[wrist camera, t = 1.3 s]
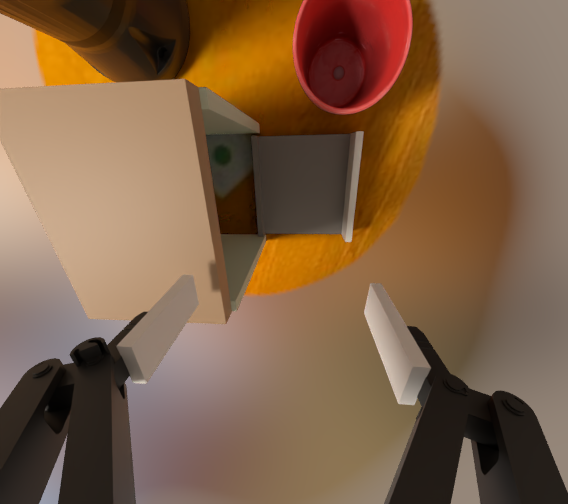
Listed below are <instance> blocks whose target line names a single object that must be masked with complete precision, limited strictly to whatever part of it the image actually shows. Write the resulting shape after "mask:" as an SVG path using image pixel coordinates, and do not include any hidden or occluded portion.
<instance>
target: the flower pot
mask: <svg viewBox="0 0 568 504" xmlns="http://www.w3.org/2000/svg"><path fill="white" fill-rule="evenodd" d="M412 29H413V16H412V8H411V3H410V0H303V2H302V5H301V7H300V10H299V13H298V16H297V19H296V23H295V28H294V35H293V59H294V65H295V70H296V73H297V77H298V79H299V82H300V84H301V86H302V88H303V90H304V92H305V93H306V95H307V96H308V98H309V99H310V100H311V101H312V102H313V103H314V104H315V105H316V106H317V107H318V108H320V109H322V110H324V111H326V112H329V113H333V114H340V115H346V114H353V113H357V112H360V111H363V110H365V109H367V108H369V107H371V106H372V105H374V104H375V103H377V102H378V101H379V100H380V99H381V98H382V97H383V96H384V95H385V94H386V93H387V92H388V91H389V90H390V89H391V87H392V86H393V85H394V83H395V82H396V80H397V78H398V76H399V75H400V73H401V71H402V69H403V66H404V64H405V61H406V59H407V56H408V52H409V48H410V44H411V38H412Z"/></svg>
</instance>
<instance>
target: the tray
mask: <svg viewBox="0 0 568 504" xmlns="http://www.w3.org/2000/svg"><path fill="white" fill-rule="evenodd" d="M363 135H364V131H356V132H354V133H351V134H326V135H293V136H260V137H259V136H251V143H252V157H253V170H254V183H255V197H256V210H257V224H258V237H263V236H264V234H342V236H343V238H344V240H345V242H351V241H352V232H353V223H354V214H355V205H356V197H357V188H358V179H359V170H360V161H361V152H362V144H363Z"/></svg>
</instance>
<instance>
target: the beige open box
mask: <svg viewBox="0 0 568 504" xmlns="http://www.w3.org/2000/svg"><path fill="white" fill-rule="evenodd" d="M249 133H260V126H259V123H258V122H256V121H255V120H253V119H252V118H250V117H249V116H247V115H246V114H245V113H243V112H242V111H240V110H239V109H237V108H236V107H234V106H233V105H231V104H230V103H228V102H227V101H226V100H224V99H223V98H221V97H220V96H218V95H217V94H215V93H214V92H212V91H211V90H209V89H208V88H206V87H199V88H198V87H197V86H195V85H194V84H192V83H191V82H189V81H187V80H186V79H173V80H154V81H135V82H117V83H98V84H79V85H60V86H42V87H23V88H4V89H0V141H1V143H2V145H3V147H4V149H5V151H6V153H7V155H8V157H9V159H10V161H11V163H12V165H13V167H14V169H15V171H16V173H17V175H18V177H19V179H20V181H21V183H22V185H23V187H24V190H25V192H26V194H27V196H28V198H29V200H30V202H31V204H32V206H33V208H34V210H35V212H36V214H37V216H38V218H39V220H40V222H41V223H42V226H43V228H44V230H45V232H46V234H47V236H48V238H49V240H50V242H51V244H52V246H53V248H54V250H55V252H56V254H57V256H58V258H59V260H60V262H61V264H62V266H63V268H64V270H65V272H66V274H67V276H68V278H69V280H70V282H71V284H72V286H73V288H74V290H75V292H76V294H77V296H78V298H79V300H80V302H81V304H82V306H83V308H84V310H85V312H86V314H87V316H88V318H89V319H109V320H133V319H134V318H135V317H136V316H137V315H139V314H141V313H142V312H144V311H145V312H149V311H150V309H151V308H152V307H153V306H154V305H155V304H156V303H157V302H158V301H159V300H160V299H161V298H162V297H163V296H164V295H165V293H166V292H167V291H168V290H169V289H170V288H171V287H172V286H173V285H174V284H175V283H176V282H177V281H178V280H179V278H180V277H181V276H182V275H183V274H186V275H193V277H194V282H195V287H196V292H197V297H198V302H199V305H198V306H197V308H196V309H195V311H194V312H193V314H192V315H191V317H190V318H189V320H188V321H187V323H211V324H226V323H227V321H228V319H229V317H230V314H231V312H232V311H237V310H238V308H239V305H240V303H241V300H242V298H243V296H244V293H245V291H246V288H247V286H248V284H249V281H250V279H251V276H252V274H253V272H254V269H255V267H256V264H257V262H258V259H259V257H260V255H261V252H262V250H263V247H264V245H265V243H266V234H264V236H263V237H258V234H220V228H219V221H218V215H217V208H216V201H215V195H214V188H213V181H212V174H211V168H210V161H209V154H208V148H207V141H206V135H217V134H249Z"/></svg>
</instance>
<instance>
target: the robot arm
mask: <svg viewBox="0 0 568 504" xmlns="http://www.w3.org/2000/svg"><path fill="white" fill-rule="evenodd" d="M0 13H1V14H3V15H5V16H8V17H10V18H12V19H14V20H16V21H19V22H21V23H23V24H25V25H27V26H30V27H32V28H34V29H36V30H39V31H41V32H43V33H45V34H47V35H50V36H52V37H54V38H56V39H58V40H60V41H63V42H65V43H66V44H67V45H68V46H69V47H71V48H72V49H73V50H74V51H75V52H77V53H78V54H79V55H80V56H81V57H83V58H84V59H85V60H86V61H87V62H88V63H89V64H90V65H91V66H92V67H93V68H95V69H96V70H97V71H98V72H99V73H101V74H102V75H104V76H105V77H107V78H109V79H110V80H112V81H114V82H116V83H117V82H135V81H154V80H172V79H173V78H174V77H175V76H176V75H177V73H178V72H179V71H180V69H181V67H182V65H183V63H184V60H185V58H186V54H187V50H188V45H189V37H190V23H189V13H188V7H187V3H186V0H0ZM198 305H199V302H198V297H197V292H196V287H195V282H194V277H193V275H186V274H183V275H182V276H181V277H180V278H179V280H178V281H177V282H176V283H175V284H174V285H173V286H172V287H171V288H170V289H169V290H168V291H167V292H166V293H165V295H164V296H163V297H162V298H161V299H160V300H159V301H158V302H157V303H156V304H155V305H154V306H153V307H152V308H151V309H150V311H149V312H145V311H144V312H142V313H141V314H139V315H137V316H136V317H135V318H134V319H133V320H132V321H131V322H130V323H129V325H127V326H126V327H125V328H124V330H122V331H121V332H120V333H119V334H118V335H117V336H116V337H115V338H114V339H113V340H112V341H111V342H110V343H109V344H108V345H107V344H106V342H105V340H104V339H103V338H100V337H99V338H92V339H88V340H86V341H84V342H82V343H80V344H79V345H78V346H76V347H75V348H74V349H73V350H72V351H71V353H70V356H71V358H72V360H73V361H74V363H70V364H65V365H63V364H62V362H61V361H60V359H56V358H55V359H49V360H46V361H43V362H41V363H39V364H37V365H35V366H34V367H32V368H31V369H29V370H28V371H27V372H26V373H25V374H24V375H23V377H22V378H21V380H20V381H19V382H18V384H17V385H16V387H15V388H14V390H13V391H12V392H11V394H10V395H9V397H8V398H7V400H6V401H5V402H4V404H3V405H2V407H1V408H0V504H39V502H40V500H41V497H42V495H43V492H44V490H45V488H46V485H47V483H48V480H49V478H50V475H51V473H52V470H53V468H54V465H55V463H56V461H57V458H58V456H59V453H60V450H61V448H62V446H63V443H64V441H65V438H66V436H67V442H66V450H65V457H64V465H63V471H62V479H61V487H60V494H59V501H58V504H136V500H135V488H134V476H133V462H132V451H131V437H130V425H129V413H128V400H127V388H126V384H125V381H126V380H127V378H128V377H129V376H130V377H131V379H132V382H133V383H143V384H146V383H147V382H148V381H149V379H150V378H151V376H152V375H153V373H154V372H155V370H156V369H157V367H158V366H159V364H160V363H161V361H162V359H163V358H164V356H165V355H166V353H167V352H168V350H169V349H170V347H171V346H172V344H173V343H174V341H175V340H176V338H177V337H178V335H179V333H180V332H181V331H182V329H183V327H184V326H185V324H186V323H187V321H188V320H189V318H190V317H191V315H192V314H193V312H194V311H195V309H196V308H197V306H198ZM364 314H365V316H366V319H367V322H368V324H369V327H370V330H371V333H372V335H373V338H374V340H375V343H376V346H377V348H378V351H379V353H380V356H381V359H382V362H383V364H384V367H385V369H386V372H387V374H388V377H389V380H390V382H391V385H392V388H393V391H394V393H395V396H396V398H397V401H398V403H399V404H409V405H415V402H416V400H417V398H418V399H419V401H420V404H421V406H422V407H421V409H420V411H419V413H418V416H417V418H416V422H415V425H414V427H413V430H412V433H411V435H410V438H409V440H408V443H407V445H406V448H405V451H404V453H403V456H402V459H401V461H400V464H399V466H398V469H397V471H396V474H395V477H394V479H393V482H392V485H391V487H390V490H389V492H388V495H387V498H386V500H385V503H384V504H450V503H451V498H452V494H453V488H454V483H455V478H456V473H457V468H458V463H459V457H460V453H461V448H462V442H463V437H466V438H468V439H471V443H472V450H473V457H474V463H475V470H476V476H477V483H478V489H479V496H480V503H481V504H568V492H567V490H566V488H565V485H564V483H563V480H562V478H561V476H560V473H559V471H558V468H557V466H556V464H555V461H554V458H553V456H552V453H551V451H550V448H549V446H548V444H547V441H546V439H545V436H544V434H543V432H542V429H541V426H540V424H539V422H538V419H537V417H536V415H535V413H534V412H533V410H532V409H531V408H530V407H529V406H528V405H527V404H526V403H525V402H524V401H523V400H521V399H520V398H518V397H517V396H515V395H513V394H511V393H508V392H505V391H496V392H495V393H493V395H492V396H489V395H486V394H483V393H480V392H478V391H475V390H472V389H469V388H468V386H467V385H466V384H465V383H464V382H463V381H462V380H461V379H459V378H458V377H456V376H454V375H452V374H450V373H449V371H448V370H447V368H446V367H445V365H444V364H443V362H442V360H441V359H440V358H439V356H438V354H437V353H436V351H435V350H434V349H433V347H432V345H431V344H430V343H429V341H428V339H427V338H426V336H425V335H424V333H422V332H421V331H420V330H419V329H418V328H417V327H412V326H406V325H405V323H404V321H403V319H402V318H401V316H400V314H399V313H398V311H397V309H396V307H395V306H394V304H393V302H392V301H391V299H390V298H389V296H388V294H387V292H386V290H385V289H384V287H383V285H382V284H379V283H370V288H369V293H368V297H367V302H366V307H365V311H364ZM67 434H68V435H67Z"/></svg>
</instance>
